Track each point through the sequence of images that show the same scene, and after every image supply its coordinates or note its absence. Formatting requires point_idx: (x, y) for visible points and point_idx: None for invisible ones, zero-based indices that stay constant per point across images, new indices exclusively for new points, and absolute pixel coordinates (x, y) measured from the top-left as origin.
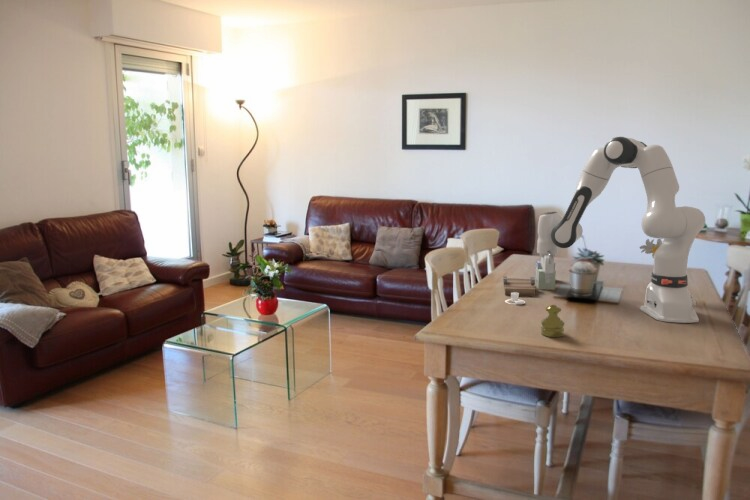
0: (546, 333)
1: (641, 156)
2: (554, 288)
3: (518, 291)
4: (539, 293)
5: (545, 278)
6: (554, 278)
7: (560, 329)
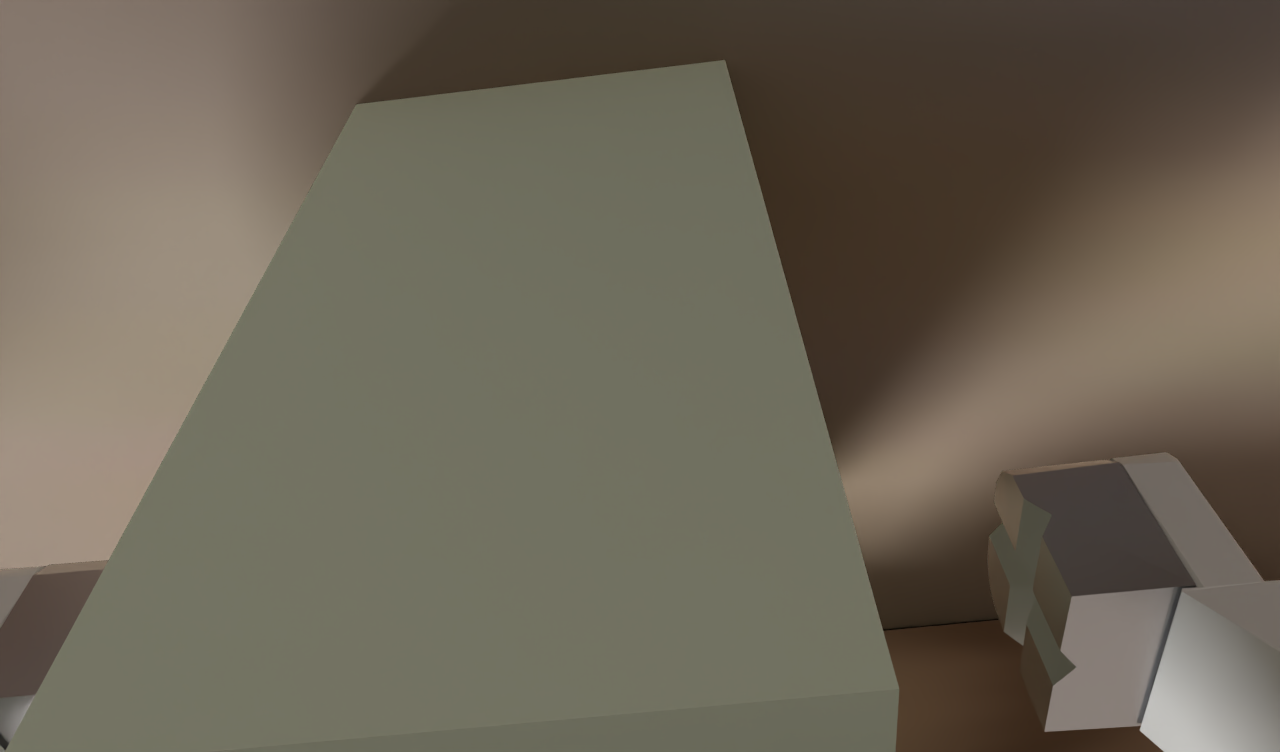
0: None
1: None
2: (733, 94)
3: None
4: (1263, 484)
5: (1058, 723)
6: (798, 352)
7: None
